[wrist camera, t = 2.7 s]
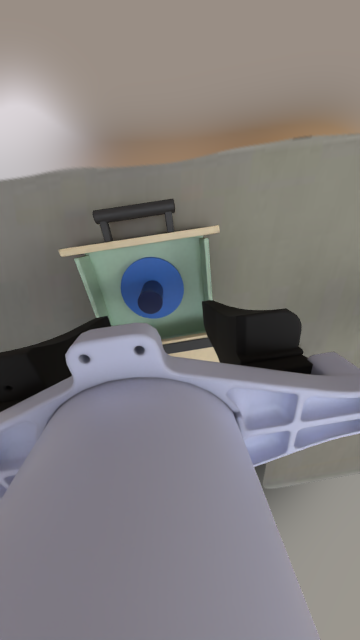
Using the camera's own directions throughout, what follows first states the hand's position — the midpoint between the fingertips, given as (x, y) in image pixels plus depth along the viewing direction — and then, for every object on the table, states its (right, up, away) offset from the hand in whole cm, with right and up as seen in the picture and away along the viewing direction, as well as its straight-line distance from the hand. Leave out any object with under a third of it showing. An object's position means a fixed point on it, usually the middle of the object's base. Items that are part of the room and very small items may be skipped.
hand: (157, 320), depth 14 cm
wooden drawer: (-1, +4, +7) cm, 8 cm away
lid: (-1, +4, +6) cm, 7 cm away
